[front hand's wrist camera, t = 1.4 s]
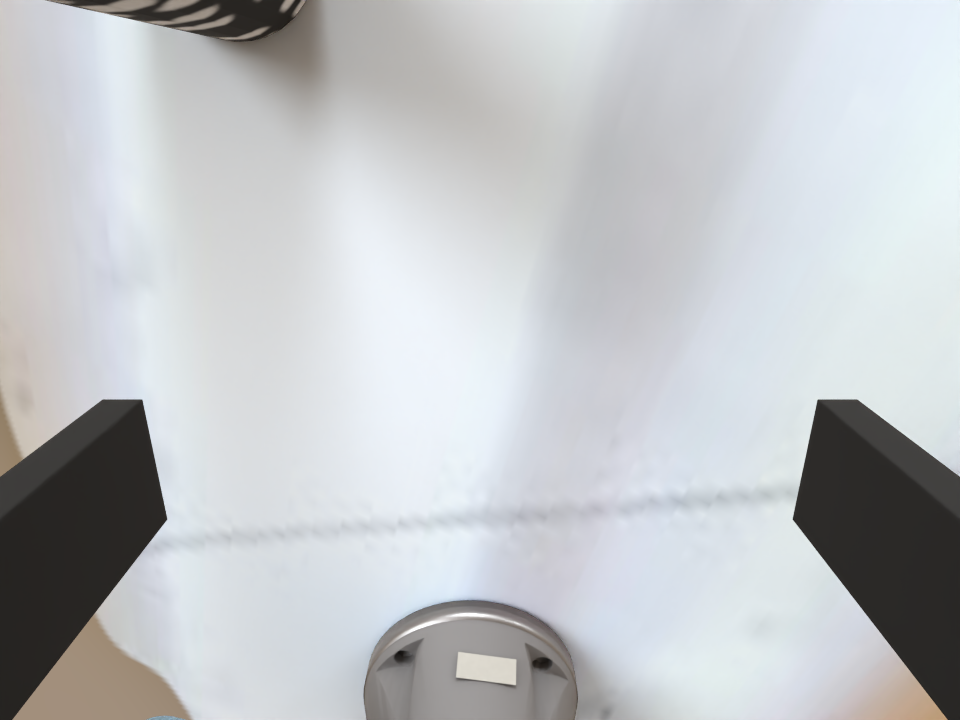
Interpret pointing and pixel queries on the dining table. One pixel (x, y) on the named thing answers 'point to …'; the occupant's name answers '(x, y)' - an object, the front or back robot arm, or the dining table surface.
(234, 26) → the polka dot cylinder
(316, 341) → the dining table surface
